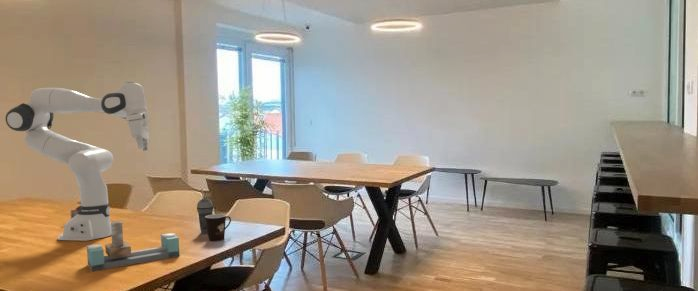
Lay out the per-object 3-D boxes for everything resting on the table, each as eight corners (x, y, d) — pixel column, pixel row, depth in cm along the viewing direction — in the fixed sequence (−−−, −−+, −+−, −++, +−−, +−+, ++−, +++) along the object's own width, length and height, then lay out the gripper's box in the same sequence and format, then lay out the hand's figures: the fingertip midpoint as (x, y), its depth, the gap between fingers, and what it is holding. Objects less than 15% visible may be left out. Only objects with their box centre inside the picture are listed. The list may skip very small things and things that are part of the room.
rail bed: (91, 271, 177) (90, 250, 176) (87, 264, 185) (86, 244, 185) (180, 255, 194) (179, 236, 194) (172, 250, 202) (171, 231, 202)
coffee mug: (208, 242, 213) (207, 219, 212) (204, 238, 220) (203, 215, 220) (236, 239, 218) (235, 215, 217) (231, 234, 226) (230, 212, 225)
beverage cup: (209, 234, 227) (207, 190, 225) (194, 234, 228) (192, 189, 227) (217, 230, 234) (215, 187, 232) (202, 230, 235) (200, 187, 234)
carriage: (110, 258, 181) (108, 226, 180) (105, 252, 188) (103, 221, 187) (131, 254, 185) (129, 223, 184) (126, 249, 192) (124, 219, 191)
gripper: (135, 123, 231) (140, 153, 230) (124, 116, 211) (130, 149, 210) (150, 121, 232) (155, 151, 231) (140, 113, 212) (146, 146, 211)
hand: (143, 150), depth 220 cm, fingers open, 8 cm apart
